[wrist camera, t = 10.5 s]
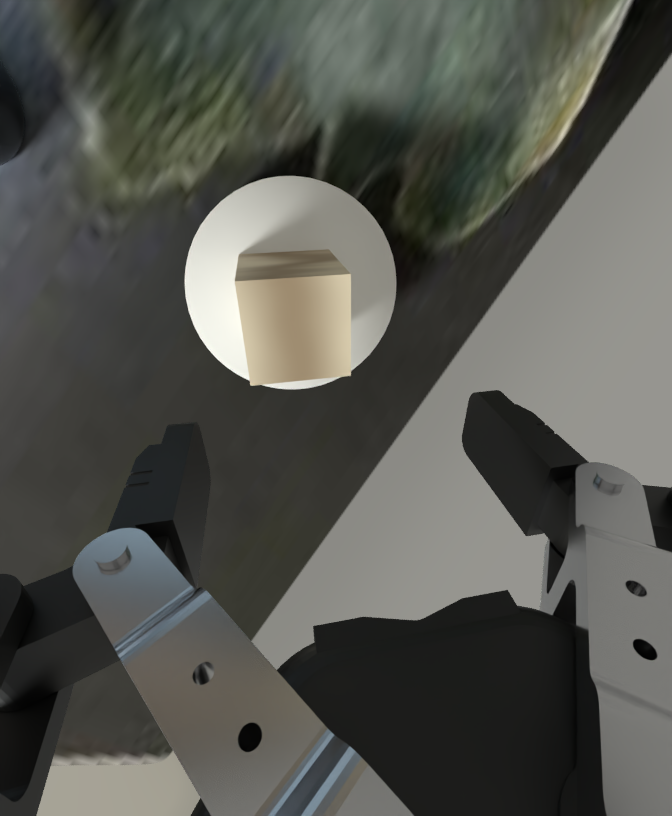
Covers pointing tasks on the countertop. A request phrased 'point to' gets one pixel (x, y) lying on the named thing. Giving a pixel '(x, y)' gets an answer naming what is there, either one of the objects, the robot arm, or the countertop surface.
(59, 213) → the countertop surface
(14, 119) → the supplement bottle
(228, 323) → the round lidded container
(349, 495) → the countertop surface
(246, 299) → the beech block
